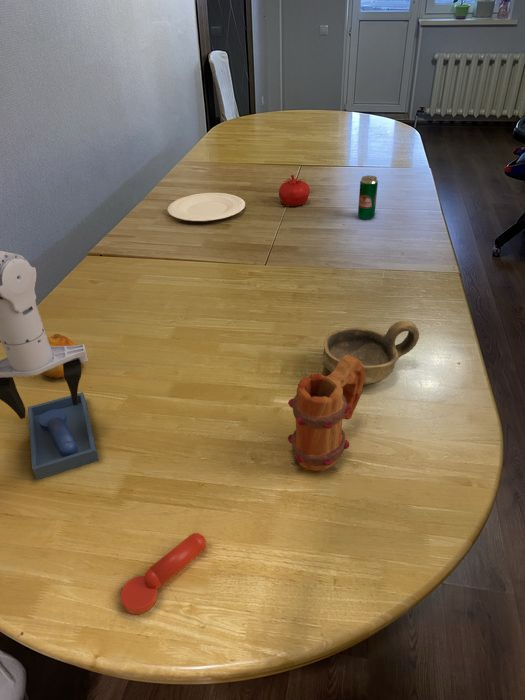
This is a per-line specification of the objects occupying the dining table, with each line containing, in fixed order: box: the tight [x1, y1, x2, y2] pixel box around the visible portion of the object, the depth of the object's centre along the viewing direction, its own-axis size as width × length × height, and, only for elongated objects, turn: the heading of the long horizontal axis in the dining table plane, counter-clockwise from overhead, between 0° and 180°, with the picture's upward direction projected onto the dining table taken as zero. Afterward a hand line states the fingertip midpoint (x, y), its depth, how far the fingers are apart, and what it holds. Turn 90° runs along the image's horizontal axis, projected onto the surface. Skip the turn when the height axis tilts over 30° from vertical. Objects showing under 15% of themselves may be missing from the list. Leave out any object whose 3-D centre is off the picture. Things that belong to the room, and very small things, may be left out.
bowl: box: [320, 319, 420, 385], centre depth 93 cm, size 14×18×10 cm
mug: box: [287, 355, 365, 472], centre depth 76 cm, size 15×8×15 cm, turn 136°
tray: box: [27, 391, 100, 480], centre depth 84 cm, size 15×9×2 cm, turn 23°
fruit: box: [42, 333, 77, 379], centre depth 98 cm, size 8×8×8 cm
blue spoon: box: [39, 409, 77, 456], centre depth 84 cm, size 12×4×3 cm, turn 35°
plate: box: [167, 192, 246, 223], centre depth 166 cm, size 25×25×2 cm
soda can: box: [357, 174, 379, 221], centre depth 154 cm, size 5×5×12 cm
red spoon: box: [120, 532, 207, 615], centre depth 64 cm, size 12×4×3 cm, turn 135°
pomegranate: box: [278, 174, 311, 207], centre depth 167 cm, size 10×10×9 cm
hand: (49, 407), depth 79 cm, fingers open, 7 cm apart
